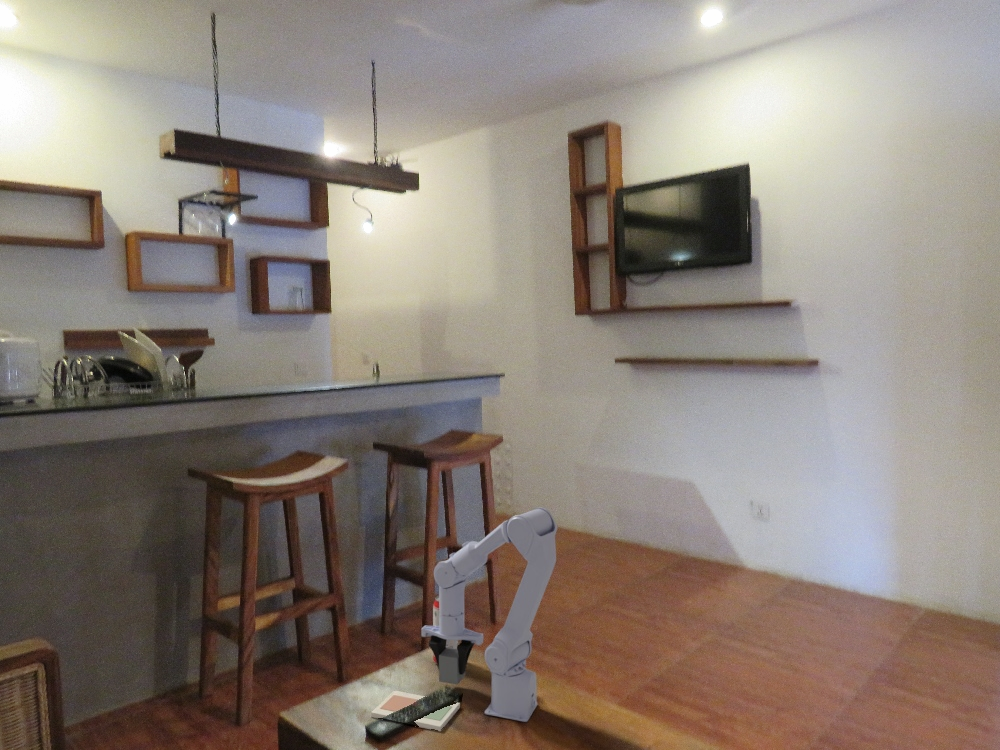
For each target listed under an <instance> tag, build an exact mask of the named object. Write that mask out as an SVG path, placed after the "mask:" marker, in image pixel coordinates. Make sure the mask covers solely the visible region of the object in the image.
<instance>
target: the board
mask: <svg viewBox="0 0 1000 750" xmlns="http://www.w3.org/2000/svg"><path fill="white" fill-rule="evenodd" d="M423 697H425V695H421V694H420V695H419V694H415V693H408V692H405V691H400V690H393V691H392V692H391V693H390V694H389V695H388V696H386V698H385V699H383V700H382V701H381V702H380V703H379V704H378V705H377V706H376V707H375V708H374V709H373V710H372V711H371V712H370V718H375V719H378V718H381V717H384V716H387V715H389V714H391V713H393V712H396V711H398V710H400V709H402V708H404V707H407V706H409V705H411V704H413V703H414V702H416V701H417V700H419V699H421V698H423ZM460 705H461V702H457V703H456V704H453V705H450V706H447V707H444V708H442V709H440V710H437V711H435V712H434V713H430V714H429V715H427V716H424V717H423V718H421V719H418V720H416V721H414V722H415V723H416V724H417V725H418V726H419V727H418V728H422V729H426V730H427V729H428V730H431V729H435V730H438V731H437V732H441V731H442V730H443V729H444V728H445V726H446V725H448V722H450V720H451V719H452V718H453V717H454V716H455V714H456V713H457V712H458V710H460V707H461V706H460ZM443 727H444V728H443ZM442 728H443V729H442ZM441 729H442V730H441ZM435 730H434V731H435Z"/></svg>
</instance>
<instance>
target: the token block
mask: <svg viewBox="0 0 1000 750" xmlns="http://www.w3.org/2000/svg"><path fill="white" fill-rule="evenodd" d="M465 677H466V671H465V672H464V674H463V675H461V674H459V655H458V650H457V649H455V648H449V647H447V648H446V649H445V650H444V651H443V652H442V653H441V654H440V655H439V669H438V681H439V682H440V683H444V684H446V683H447V684H452V685H456V686H457V685H459V683H460V682H462V680H463V679H464V678H465Z"/></svg>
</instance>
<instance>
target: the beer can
mask: <svg viewBox="0 0 1000 750" xmlns="http://www.w3.org/2000/svg"><path fill="white" fill-rule="evenodd" d="M432 623H433V625H432V626H439V595H437V596H436V597H435V601H434V602H433V604H432ZM458 645H459V641H457V640H447V641H446V648H447V647H449V648H455V649H457V646H458ZM432 657H433V658H432V659H433V662H434V663H435V664H436V665H437V661H436V658H435V655H434V653H433V652H432Z"/></svg>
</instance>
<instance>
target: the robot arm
mask: <svg viewBox="0 0 1000 750" xmlns="http://www.w3.org/2000/svg"><path fill="white" fill-rule="evenodd" d="M557 531H558V525H557V523H556V521H555V519H554V517H553V515H552V513H551V512H550V511H549V509H547V508H544V507H536V508H534V509H532V510H529V511H527V512H524V513H521V514H516V515H513V516H511V517H510V518H509V519H507V520H504V521H503V522H502V523H500V524H499V525H498V526H497V527H496V528H494V529H493V530H492V531H490V532H489V533H488V534H487V535H486V536H485V537H484V538H483V539H481V540H479V541H476V540H475V541H474V540H471V541H468V540H467V541H465V542H464V543H462V544H461V546H462V548H461V549H459V550H458V551H456V552H452V553H450V554H449V555H448V557H449V558H448V559H447V560H443V561H438V562H437V564H436V565H435V566H434V568H433V569H434V570H433V579H434V581H435V583H436V585H438V596H439V626H433V625H424V626H422V627H421V631H420V632H421V638H426V637H430V639H429V641H428V646H429V648H430V650H431V651H432V654H433V653H434V655H435V658H436V661H437V664H436V666H437V668H438V670H439V655H440V654H441V653H442V652H443V651H444V650H445V649H446V641H447V640H457V641H458V642H460V643H458V646H457V650H458V655H459V674H461V675H463V674H464V672H465V673H466V671H467V666H468V665H467V664H468V662H469V657H470V655H471V652H472V649H473V647H474V645H476V646H481V645H482V644H483V643H484V633H482V632H481V633H480V632H476V631H474V630H471V629H468V628H466V627H465V588H466V586H467V580H469V577H470V575H472V574H473V573H474V572H476V571H477V570H478V569H480V568H481V567H483V566H484V565H485V564H486V563H487V562H488V555H489V554H490V553H493V552H494V551H495V550H497V549H498V548H500V547H501V546H503V545H505V544H506V543H507V544H511V543H512V545H513V546H514V547H515V548H516V550H517V551H518V552H519V554H520V555H521V556H522V558H523V559H524V560H525V561H526V562H527V565H526V567H525V570H524V571H523V575H522V578H521V581H520V582H519V586H518V588H517V591H516V593H515V595H514V599H513V601H512V605H511V606H510V607H511V608H510V609H509V612H508V615H507V617H506V620H505V622H504V625H503V627H501V628H500V630H499V631H498V633H497V634H496V635H495V636H494V638H493V641H492V643H490V644H489V645H488V646H487V647H486V648H485V651H484V660H485V664H486V666H487V668H488V669H489V672H490V673H491V683H490V684H491V687H490V688H491V690H490V691H491V697H490V699H491V702H490V703H489V705H488V707H487V708H486V709H485V710H484V714H485V715H487V716H494V717H499V718H503V719H509V720H514V721H519V722H523V723H527V722H528V721H529V720H530V718H531V716H532V714H533V712H534V711H535V709H536V708H537V706H538V702H537V700H538V698H537V696H538V695H537V693H538V692H537V689H538V688H537V687H538V685H537V684H538V683H537V681H538V680H537V679H538V678H537V674H536V672H535V671H532V670H530V669H528V668H526V665H527V659H529V657H530V656H531V653H532V640H533V636H534V634H533V632H532V631H531V627H532V624H533V622H534V620H535V617H536V615H537V612H538V610H539V607H540V605H541V601H542V600H543V596H544V594H545V592H546V588H547V586H548V585H549V582H550V578H551V576H552V574H553V571H554V569H555V566H556V562H557V550H556V548H557V546H556V533H557Z"/></svg>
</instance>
